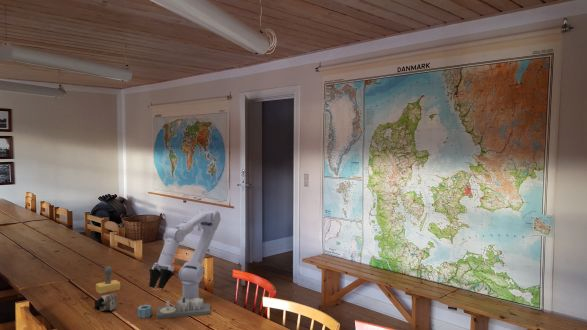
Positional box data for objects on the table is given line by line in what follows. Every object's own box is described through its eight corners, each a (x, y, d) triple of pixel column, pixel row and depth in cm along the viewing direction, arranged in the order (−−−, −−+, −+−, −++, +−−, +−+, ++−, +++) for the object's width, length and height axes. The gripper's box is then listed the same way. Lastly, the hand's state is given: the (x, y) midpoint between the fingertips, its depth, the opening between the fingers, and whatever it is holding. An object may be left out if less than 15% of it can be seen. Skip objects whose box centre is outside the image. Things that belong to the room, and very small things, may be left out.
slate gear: (138, 313, 182) (138, 305, 182) (152, 312, 183) (152, 304, 183) (136, 318, 176) (136, 310, 176) (151, 317, 178) (151, 309, 177)
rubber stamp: (99, 294, 204) (99, 269, 203) (95, 291, 208) (95, 266, 208) (120, 289, 211) (120, 265, 210) (116, 286, 215) (116, 263, 214)
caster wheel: (100, 309, 192) (122, 306, 192) (88, 313, 181) (111, 310, 181) (99, 294, 193) (121, 291, 193) (87, 297, 182) (110, 294, 182)
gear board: (157, 310, 185) (157, 295, 185) (209, 306, 191) (209, 291, 191) (156, 318, 177) (156, 302, 176) (210, 314, 182) (210, 298, 182)
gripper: (151, 252, 183) (139, 283, 178) (168, 252, 173) (156, 285, 168) (165, 257, 188) (153, 288, 182) (182, 258, 178) (171, 290, 172)
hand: (155, 287), depth 175 cm, fingers open, 7 cm apart
